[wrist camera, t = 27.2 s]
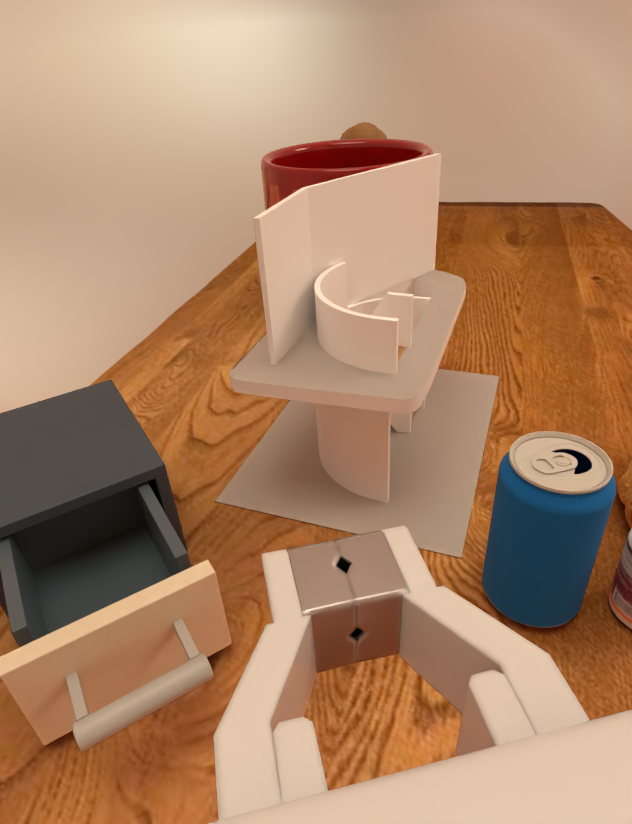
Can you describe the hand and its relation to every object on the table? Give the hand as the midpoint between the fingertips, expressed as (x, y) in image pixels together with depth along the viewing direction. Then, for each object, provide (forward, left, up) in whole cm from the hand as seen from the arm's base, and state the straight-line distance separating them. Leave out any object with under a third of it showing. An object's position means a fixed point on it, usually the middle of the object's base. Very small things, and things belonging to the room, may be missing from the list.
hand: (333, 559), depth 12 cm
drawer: (-5, +20, -23) cm, 31 cm away
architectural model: (+24, +30, -24) cm, 45 cm away
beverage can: (+21, +8, -24) cm, 33 cm away
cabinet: (-5, +33, -24) cm, 41 cm away
